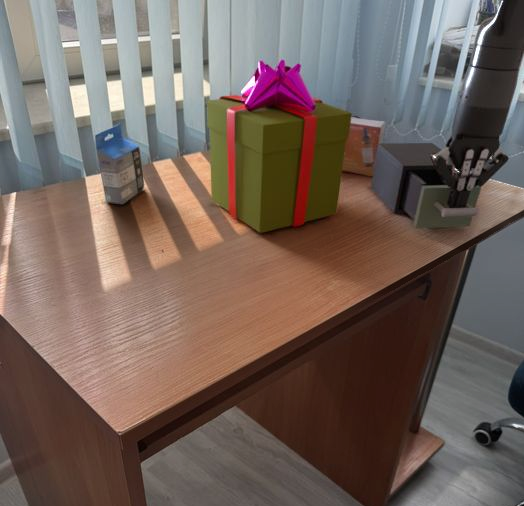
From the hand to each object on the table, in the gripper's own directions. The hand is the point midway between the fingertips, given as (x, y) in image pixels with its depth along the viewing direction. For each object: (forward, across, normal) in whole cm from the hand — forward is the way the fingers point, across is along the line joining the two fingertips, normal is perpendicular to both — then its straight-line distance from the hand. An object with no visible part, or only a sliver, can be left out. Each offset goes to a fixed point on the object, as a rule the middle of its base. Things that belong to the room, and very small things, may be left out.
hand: (455, 209), depth 89 cm
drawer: (+4, 0, +6) cm, 7 cm away
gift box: (+5, -29, +14) cm, 33 cm away
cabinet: (+5, 0, +18) cm, 18 cm away
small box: (+5, -5, +35) cm, 36 cm away
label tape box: (+5, -57, +23) cm, 62 cm away
